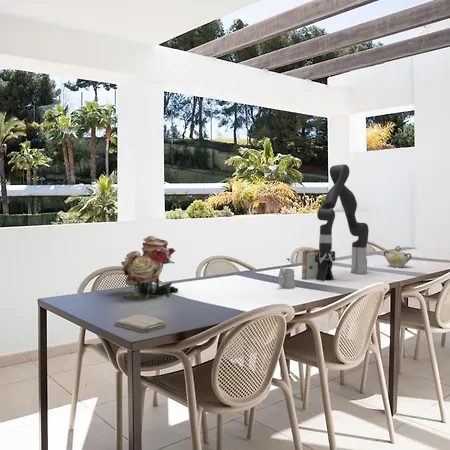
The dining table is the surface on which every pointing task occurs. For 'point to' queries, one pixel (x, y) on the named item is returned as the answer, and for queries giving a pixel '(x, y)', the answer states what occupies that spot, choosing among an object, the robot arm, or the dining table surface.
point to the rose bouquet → (148, 269)
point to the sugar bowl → (397, 258)
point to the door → (312, 266)
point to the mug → (286, 278)
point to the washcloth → (141, 323)
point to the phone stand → (325, 271)
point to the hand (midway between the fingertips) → (324, 268)
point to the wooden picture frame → (304, 261)
